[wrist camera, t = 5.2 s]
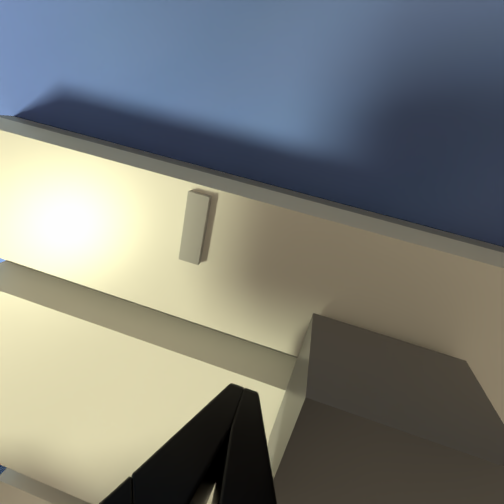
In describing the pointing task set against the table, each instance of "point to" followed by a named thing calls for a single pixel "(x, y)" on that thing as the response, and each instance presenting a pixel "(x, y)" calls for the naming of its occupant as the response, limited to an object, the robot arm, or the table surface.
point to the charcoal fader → (383, 425)
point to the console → (192, 300)
